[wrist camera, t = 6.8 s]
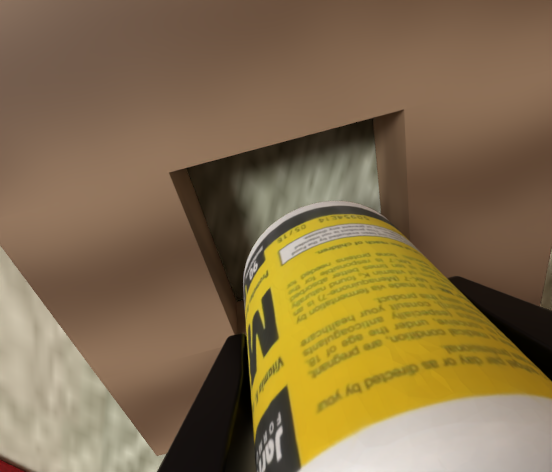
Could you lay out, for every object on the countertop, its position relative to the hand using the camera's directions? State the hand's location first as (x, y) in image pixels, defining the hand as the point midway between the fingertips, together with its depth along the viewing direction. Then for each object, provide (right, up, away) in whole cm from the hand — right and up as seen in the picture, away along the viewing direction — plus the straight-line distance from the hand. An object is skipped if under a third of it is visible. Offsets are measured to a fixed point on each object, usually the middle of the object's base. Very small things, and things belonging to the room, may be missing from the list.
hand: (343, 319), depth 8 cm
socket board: (-1, +3, +5) cm, 6 cm away
